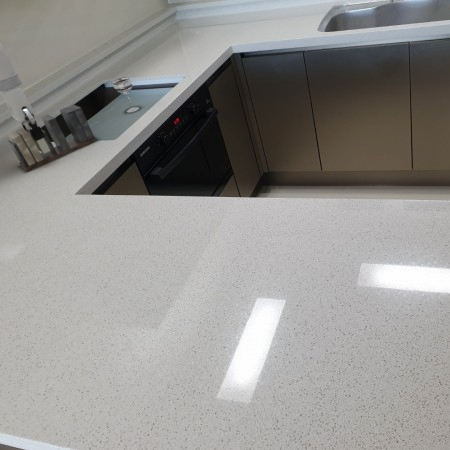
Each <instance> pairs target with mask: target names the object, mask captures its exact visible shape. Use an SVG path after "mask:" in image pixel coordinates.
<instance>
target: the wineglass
mask: <svg viewBox="0 0 450 450" xmlns="http://www.w3.org/2000/svg"><path fill="white" fill-rule="evenodd" d="M112 84H113V88H114V90H115V91H116V92H117V93H119V94H121V95H122V94H123V95H125V96H126V98H127V101H128V103H129V105H130V108H129V109H128V110H126V113H134V112H136V111H138V110H140V107H138V106H135V107H134V106H133V105H132V102H131V100H130V99H131V98H130V96H129V94H130V92H131V91H132V89H133V81H132V80H131V77H130V76H122V77H119V78H116V79H114V80H112Z"/></svg>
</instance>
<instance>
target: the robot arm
mask: <svg viewBox="0 0 450 450" xmlns="http://www.w3.org/2000/svg"><path fill="white" fill-rule="evenodd" d="M22 86H23V82H22V79H21V78H20V77H19V75H18V73H17V71H16V69H15V67H14V65H13V63H12V61H11V59H10V58H9V56H8V54H7V52H6V50H5V48H4V46H3V44H2V43H1V42H0V95H1V97H2V99H3V101H4V103H5V105H6V107H7V108H8V111H9V113H10V115H11V116H12V118H13V119H14V120H15V121H17V122H19V123H20V124H21V126H22V128H23V129H24V130H26V131H27V129H26V127H25V126H24V124H23V122H24V121H25V123H26V124H27V126H28V127H29V131H30V133H31V135H32V136H33V138H34V140H35V141H38V140H40V139H43V138H45V136H44V134H43V132H42V130H43V129H42V128H41V126H40V125H39V124H38V122H37V120H36V119H35V118H36V114H35V111H34V109H33V107H32V105H31V103H30V102H29V100H28V97H27V96H26V95H25V92H24V91H23V89H22ZM29 121H30V122H29ZM28 122H29V123H28ZM41 129H42V130H41Z"/></svg>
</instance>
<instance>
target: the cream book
mask: <svg viewBox="0 0 450 450" xmlns="http://www.w3.org/2000/svg"><path fill="white" fill-rule="evenodd" d="M29 122H30V121H29ZM29 122H28V123H29ZM23 124H24V126H25V127H26V129H27V131H28V132H29V134H30V136H31V138H32V139H33V141H34V143H35V145H36V147H37V148H38V150H39V152H40V153H44V154H45V153H47V152H49V151H50V149H49V147H48V145H47V144H46V142H45V140H44V138H43V139H40V140H38V141H35V140H34V138H33V136H32V135H31V133H30V131H29V127H28V126H27V124H26V123H25V121H24V122H23Z"/></svg>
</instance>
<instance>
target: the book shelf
mask: <svg viewBox="0 0 450 450" xmlns="http://www.w3.org/2000/svg"><path fill="white" fill-rule="evenodd" d="M59 112H60V114H61V116H62V117H63V120H64V122H65V124H66V126H67V128H68V130H69V131H70V134H71V137H72V139H70V140H67V138H66V137H65V134H64V132H63V131H62V129H61V127H60V124H59V123H58V121H57V119H56V117H54V116H52V115H50V114H45V115H43V116H41V117H40V118H41V120H42V122H43V124H44V126H45V128H46V129H47V131H48V133H49V135H50V137H49V135H48V133H47V132H46V131H45V130H43V129H42V128H41V130H42V132H43V134H44V136H45V138H44V140H45V142H46V144H47V145H48V147H49V149H50V151H49V152H47V153H45V154H44V153H42V152H41V151H39V150H38V148H37V147H36V145H35V143H34V141H33V139H32V138H31V136H30V134H29V132H28V131H26V130H24V128H23V127H22V128H19V129H17V130H15V131H12V132H9V133H7V136H8V138H9V139H8V140H7V142H8V144H9V146H10V148H11V149H12V151H13V153H14V154H15V156H16V158H17V160H18V161H19V162H18V165H19V166H20V168H21V169H23V170H24V171H26V172H30V171H32V170H35V169H37V168H39V167H42V166H44V165H46V164H48V163H50V162H53V161H55V160H57V159H60V158H62V157H64V156H66V155H68V154H70V153H73V152H75V151H78V150H80V149H82V148H84V147H86V146H89V145H91V144H93V143H95V142H97V141H98V140H97V138H96V136H95V135H94V133H93V131H92V128H91V126H90V124H89V122H88V120H87V118H86V115H85V113H84V111H83V109H82V107H81V106H78V105H76V104H71V105H68V106H66V107H63V108H60V109H59ZM50 138H51V139H52V140H51V139H50ZM52 141H53V143H54V145H55V146H54V145H53V143H52Z"/></svg>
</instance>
